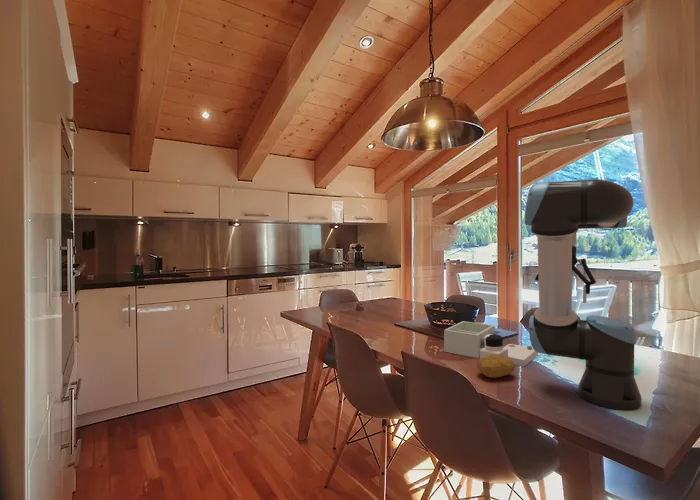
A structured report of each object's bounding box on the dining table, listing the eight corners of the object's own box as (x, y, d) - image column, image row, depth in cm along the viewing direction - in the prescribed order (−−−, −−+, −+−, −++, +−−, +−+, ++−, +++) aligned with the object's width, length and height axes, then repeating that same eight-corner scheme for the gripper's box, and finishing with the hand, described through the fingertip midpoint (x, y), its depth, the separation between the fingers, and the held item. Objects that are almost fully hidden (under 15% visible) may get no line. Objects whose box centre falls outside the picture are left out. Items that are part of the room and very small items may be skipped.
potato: (471, 373, 131) (471, 353, 132) (505, 371, 133) (505, 351, 133) (485, 382, 122) (485, 360, 122) (521, 379, 124) (521, 358, 124)
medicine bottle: (509, 367, 135) (507, 334, 134) (499, 373, 130) (498, 339, 129) (490, 363, 140) (488, 331, 139) (480, 369, 135) (478, 336, 134)
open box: (487, 360, 145) (487, 336, 145) (444, 351, 156) (444, 329, 155) (503, 347, 161) (503, 326, 160) (462, 340, 171) (462, 321, 171)
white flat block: (524, 368, 137) (524, 357, 137) (493, 361, 145) (493, 351, 144) (537, 355, 151) (537, 346, 151) (509, 350, 158) (509, 341, 158)
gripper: (605, 245, 140) (604, 303, 140) (532, 245, 156) (531, 296, 156) (602, 245, 134) (601, 305, 134) (527, 245, 150) (526, 298, 150)
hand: (564, 300), depth 145 cm, fingers open, 13 cm apart
